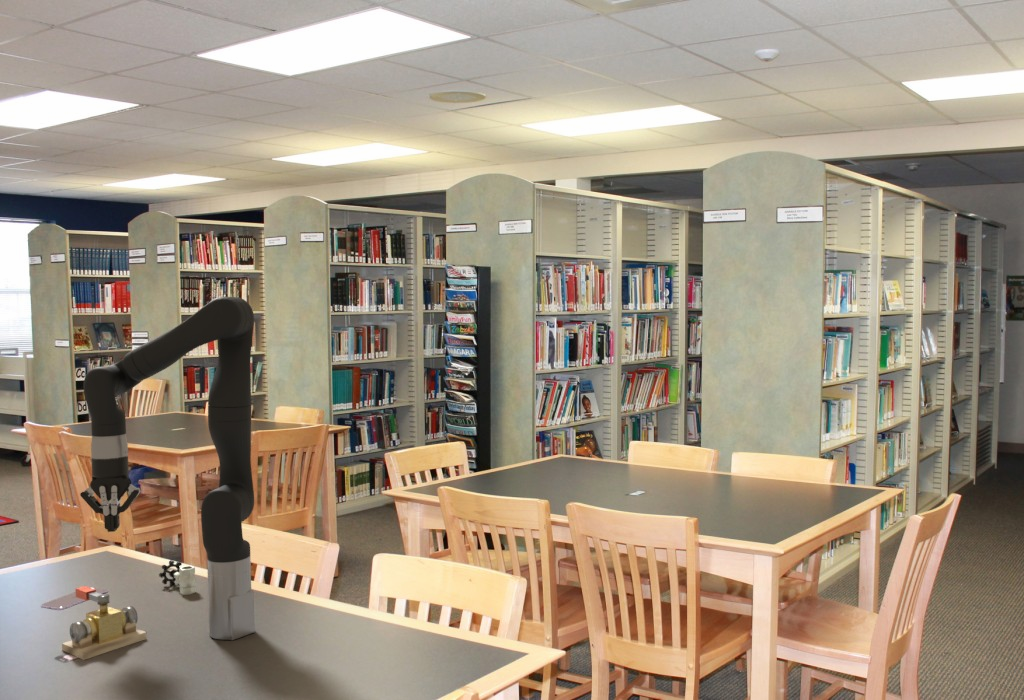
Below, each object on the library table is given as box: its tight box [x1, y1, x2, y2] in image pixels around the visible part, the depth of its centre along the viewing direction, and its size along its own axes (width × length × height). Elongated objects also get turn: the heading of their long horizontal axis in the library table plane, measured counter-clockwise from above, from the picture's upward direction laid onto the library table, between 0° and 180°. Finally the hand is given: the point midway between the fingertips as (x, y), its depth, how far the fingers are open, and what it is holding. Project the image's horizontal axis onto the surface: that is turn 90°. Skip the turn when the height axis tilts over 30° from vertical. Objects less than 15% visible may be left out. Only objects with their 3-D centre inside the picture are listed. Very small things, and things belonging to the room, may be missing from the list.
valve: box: [158, 559, 197, 596], centre depth 228 cm, size 7×7×12 cm
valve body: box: [69, 603, 139, 644], centre depth 190 cm, size 5×13×8 cm, turn 144°
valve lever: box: [75, 585, 111, 606], centre depth 193 cm, size 11×2×2 cm, turn 54°
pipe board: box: [61, 622, 147, 660], centre depth 190 cm, size 9×14×4 cm, turn 144°
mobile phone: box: [40, 586, 109, 611], centre depth 221 cm, size 8×1×15 cm
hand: (112, 530), depth 197 cm, fingers closed
